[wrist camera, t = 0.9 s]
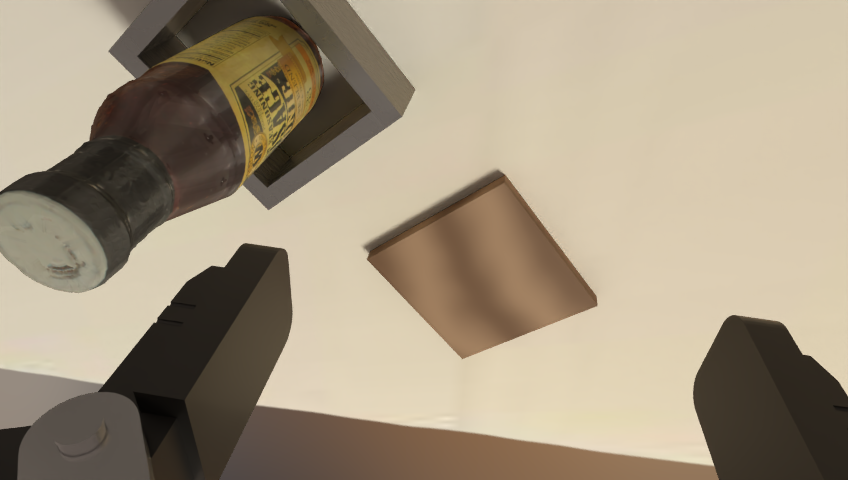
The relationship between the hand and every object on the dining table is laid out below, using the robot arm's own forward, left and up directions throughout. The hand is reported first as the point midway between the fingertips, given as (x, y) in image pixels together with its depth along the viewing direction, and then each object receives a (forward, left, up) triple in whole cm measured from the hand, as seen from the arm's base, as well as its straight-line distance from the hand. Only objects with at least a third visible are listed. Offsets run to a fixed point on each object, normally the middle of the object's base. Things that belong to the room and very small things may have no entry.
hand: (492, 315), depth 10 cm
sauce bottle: (+13, -6, -24) cm, 28 cm away
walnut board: (+12, +14, -24) cm, 30 cm away
